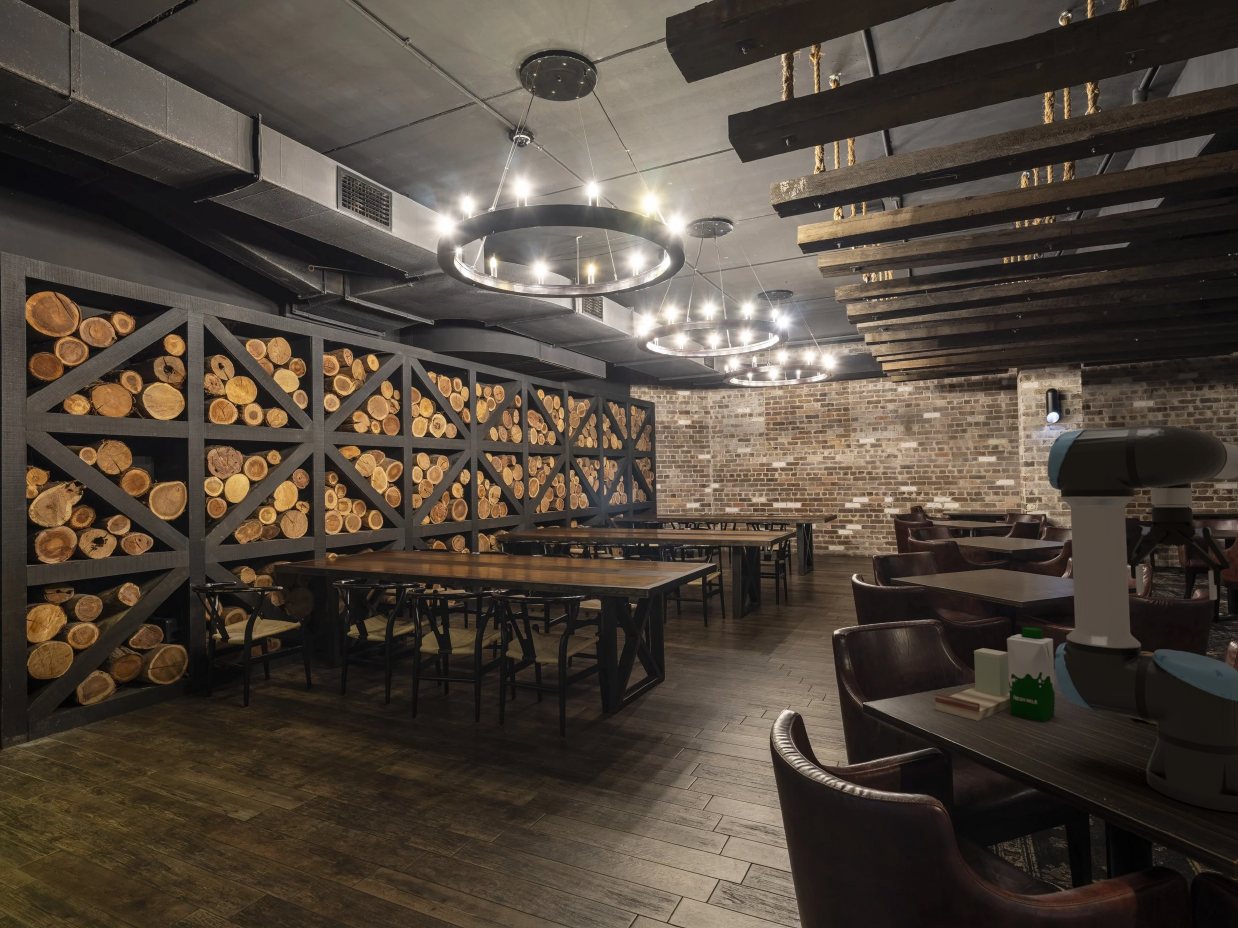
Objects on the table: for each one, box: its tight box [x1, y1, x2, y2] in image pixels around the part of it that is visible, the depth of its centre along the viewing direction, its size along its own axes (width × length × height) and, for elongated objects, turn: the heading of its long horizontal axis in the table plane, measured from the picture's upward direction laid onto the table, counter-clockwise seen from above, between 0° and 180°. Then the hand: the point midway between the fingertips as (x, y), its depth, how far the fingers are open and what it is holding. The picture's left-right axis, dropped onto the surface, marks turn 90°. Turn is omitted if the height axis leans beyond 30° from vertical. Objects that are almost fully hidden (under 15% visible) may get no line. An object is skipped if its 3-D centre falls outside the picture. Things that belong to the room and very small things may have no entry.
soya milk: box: [1006, 626, 1056, 723], centre depth 156 cm, size 9×9×20 cm
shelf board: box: [934, 686, 1010, 722], centre depth 163 cm, size 22×10×4 cm, turn 128°
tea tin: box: [973, 647, 1010, 697], centre depth 168 cm, size 5×6×10 cm
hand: (1175, 596), depth 157 cm, fingers open, 13 cm apart
